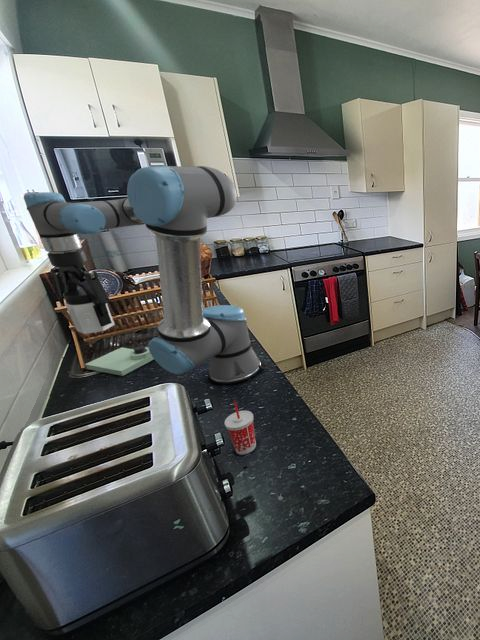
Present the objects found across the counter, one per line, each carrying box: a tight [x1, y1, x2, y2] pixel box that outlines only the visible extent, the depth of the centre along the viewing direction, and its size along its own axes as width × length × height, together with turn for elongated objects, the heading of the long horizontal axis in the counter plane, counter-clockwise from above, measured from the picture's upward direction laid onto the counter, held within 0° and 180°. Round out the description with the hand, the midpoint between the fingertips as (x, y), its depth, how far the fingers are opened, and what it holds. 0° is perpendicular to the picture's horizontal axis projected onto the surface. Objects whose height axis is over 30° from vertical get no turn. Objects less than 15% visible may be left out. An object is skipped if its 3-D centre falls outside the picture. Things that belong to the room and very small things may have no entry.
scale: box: [84, 346, 155, 377], centre depth 118 cm, size 15×12×4 cm
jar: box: [63, 288, 116, 335], centre depth 105 cm, size 9×8×12 cm
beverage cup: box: [224, 400, 257, 455], centre depth 83 cm, size 6×6×14 cm
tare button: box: [133, 345, 146, 354], centre depth 119 cm, size 3×3×2 cm
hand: (94, 322), depth 107 cm, fingers closed on jar, 9 cm apart
